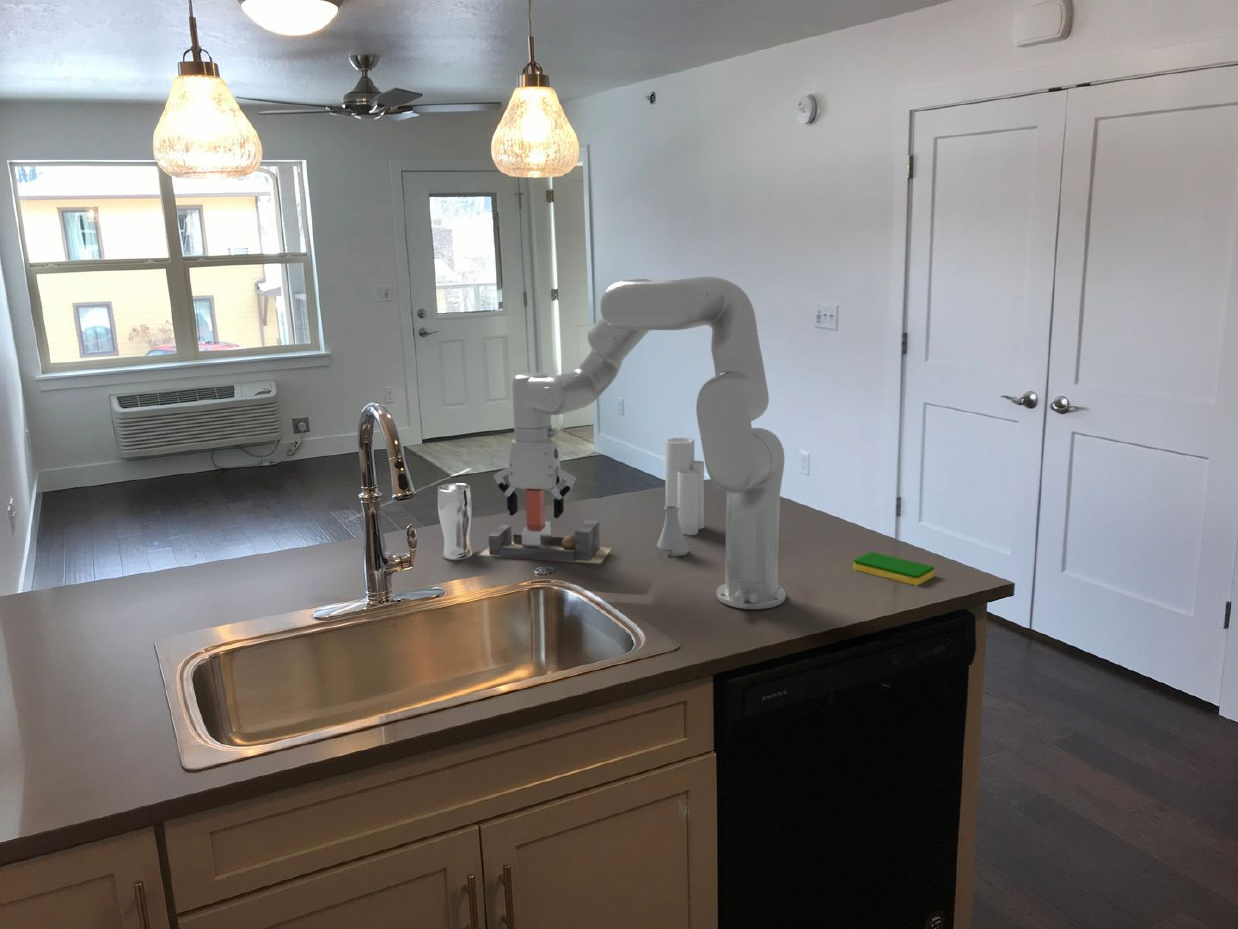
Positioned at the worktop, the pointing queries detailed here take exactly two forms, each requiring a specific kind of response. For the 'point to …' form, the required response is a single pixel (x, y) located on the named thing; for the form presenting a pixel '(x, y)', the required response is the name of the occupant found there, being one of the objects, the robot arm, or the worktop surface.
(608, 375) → the robot arm
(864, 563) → the dish sponge
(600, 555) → the cracker board
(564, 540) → the walnut
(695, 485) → the vase
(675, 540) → the flask
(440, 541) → the worktop surface
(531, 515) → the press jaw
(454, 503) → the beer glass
